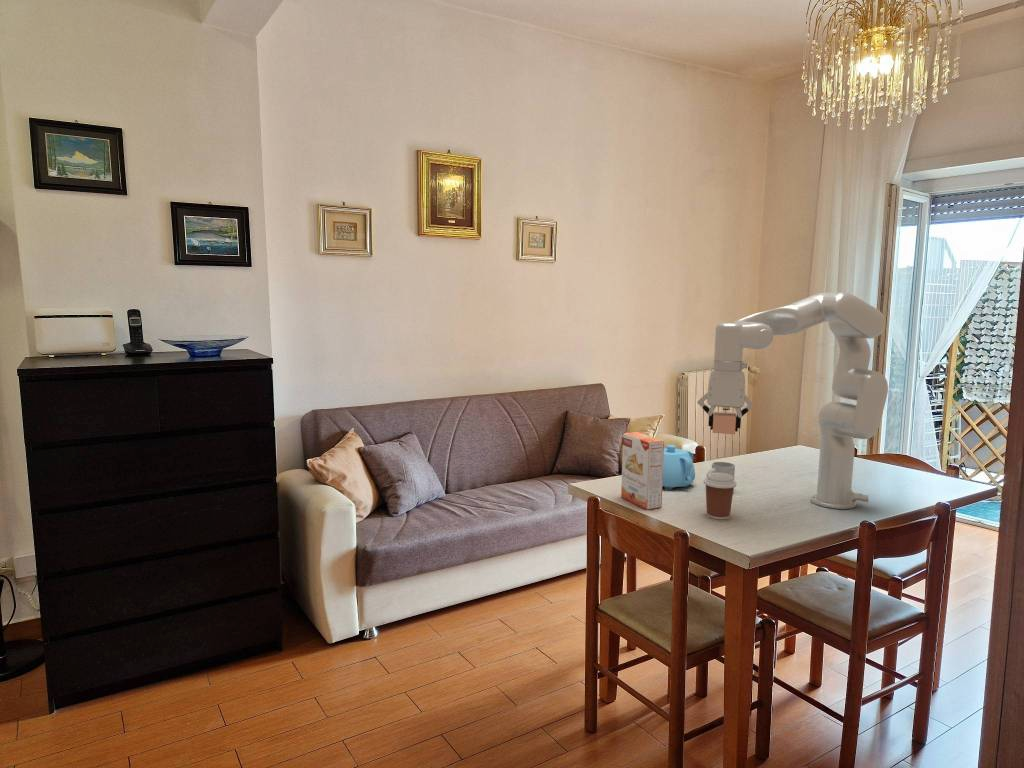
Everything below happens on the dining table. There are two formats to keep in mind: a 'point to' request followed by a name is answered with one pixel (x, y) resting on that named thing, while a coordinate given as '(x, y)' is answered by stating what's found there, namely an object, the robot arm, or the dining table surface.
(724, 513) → the coffee cup
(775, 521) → the dining table surface
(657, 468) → the cracker box
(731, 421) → the stacking block
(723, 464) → the cup
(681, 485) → the decorative pot
